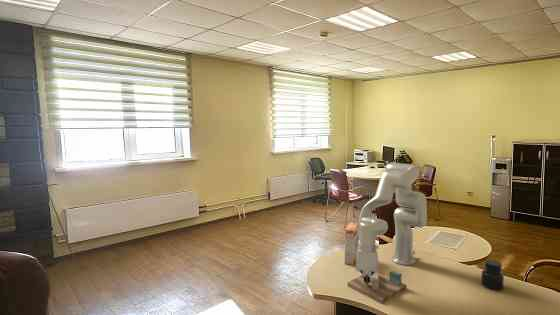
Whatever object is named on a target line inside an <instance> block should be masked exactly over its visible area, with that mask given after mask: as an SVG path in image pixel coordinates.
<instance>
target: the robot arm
mask: <svg viewBox="0 0 560 315" xmlns="http://www.w3.org/2000/svg"><path fill="white" fill-rule="evenodd" d="M419 176H420V168H419V167H418V165H417V164H412V163H411V164H410V163H399V162H390V163H387V164H386V166H385V171H383V172H382V173H381V175H380V177H379V182H378V185H377V187H376V191H375V195H374V197H373V198H371V199H370V200H369V201H367V202H366V203H365V204H364V206H363V207H362V208H361V210H360V214H359V218H358V226H359V248H358V250H357V259H356V262H355V265H356V266H355V272H357V273H361V275H363V276H364V282H365V285H366V284H367V285H369V282H370V277H371V276H372V275H373V274H376V273H380V272H379V257H378V256H379V255H378V250H377V249H379V248H380V247H379V245H377V244H376V237H377V236H381V235H384V234H386V233H387V231H388V229H389V225H388V222H387V221H386V220H384V219H383V218H382V219H381V218H377V217H372V216H370V214H371V213H372V212H373V210H375V209H377V208H379V207H383V206H386V205H389V204H391V203H392V201H393V198H394V196H395V202H396V205H398V206H400V207H396V209H394V212H393V220H394V225H395V226H394V227H395V228H394V230H395V233H394V234H395V235H394V237H395V239H394V255H392V257H391V260H392V261H393V263H395V264H398V265H403V266H412V265H415V263H416V258H414V257H413V256H414V255H416V251H415V250H413V248H414V245H413V244H414V242H413V241H414V240H413V238H414V232H413V228H412V227H414V228H419V229H421V228H424V227H426V225H427V222H428V221H427V220H428V214H427V212H428V211H427V210H428V208H427V207H428V206H427V198H426V197H427V196H426V195H425V193H423V192H421V191H417V190H416V191H415V190H412V185H413V184H414V182H415V181H417V179H418V178H419ZM367 272H368V275H366V273H367Z"/></svg>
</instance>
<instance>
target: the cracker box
mask: <svg viewBox="0 0 560 315" xmlns="http://www.w3.org/2000/svg"><path fill="white" fill-rule="evenodd" d="M358 248H359V226H358V223H357V222H349V223H348V225H347V226H346V227H345V229H344V264H345V265H351V266H355V265H356V259H357V250H358Z"/></svg>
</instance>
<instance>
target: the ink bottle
mask: <svg viewBox="0 0 560 315" xmlns="http://www.w3.org/2000/svg"><path fill="white" fill-rule="evenodd" d="M502 267H503V264H502V263H501V262H500V261H498V260H494V259H486V260H484V269H483V270H482V271H481V283H480V284H481V285H482V286H483V287H484V288H486V289H489V290H492V291H493V290H494V291H502V290H504V283H505V282H504V281H505V277H504V274H503V273H502V270H503V268H502Z"/></svg>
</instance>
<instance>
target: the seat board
mask: <svg viewBox="0 0 560 315" xmlns="http://www.w3.org/2000/svg"><path fill="white" fill-rule="evenodd" d="M368 272H369V271H366V275H368ZM378 280H379V291H378V290H372V279H371V277H370V282H369V285H367V284H366V285H365V282H364V276H363V275H362V274H361V275H360V276H357V277H356V278H354V279H351V280H349V281H347V287H349V288H350V289H353V290H354V291H356V292H358V293H360V294H362V295H364V296H366V297H368V298H370V299H372V300H374V301H376V302H378V303H379V304H381V305H382V304H383V305H384V303H386V302H388V301H389V300H391V299H392V298H394V297H396V296H398V295H399V294H400V293H402V292H404V291H405V290H407V284H406V283H403V282H402V273H401V272H399V271H396V270H394V269H392V270H389V276H387V275H384V274H382V273H380V272H379V273H378Z"/></svg>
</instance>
